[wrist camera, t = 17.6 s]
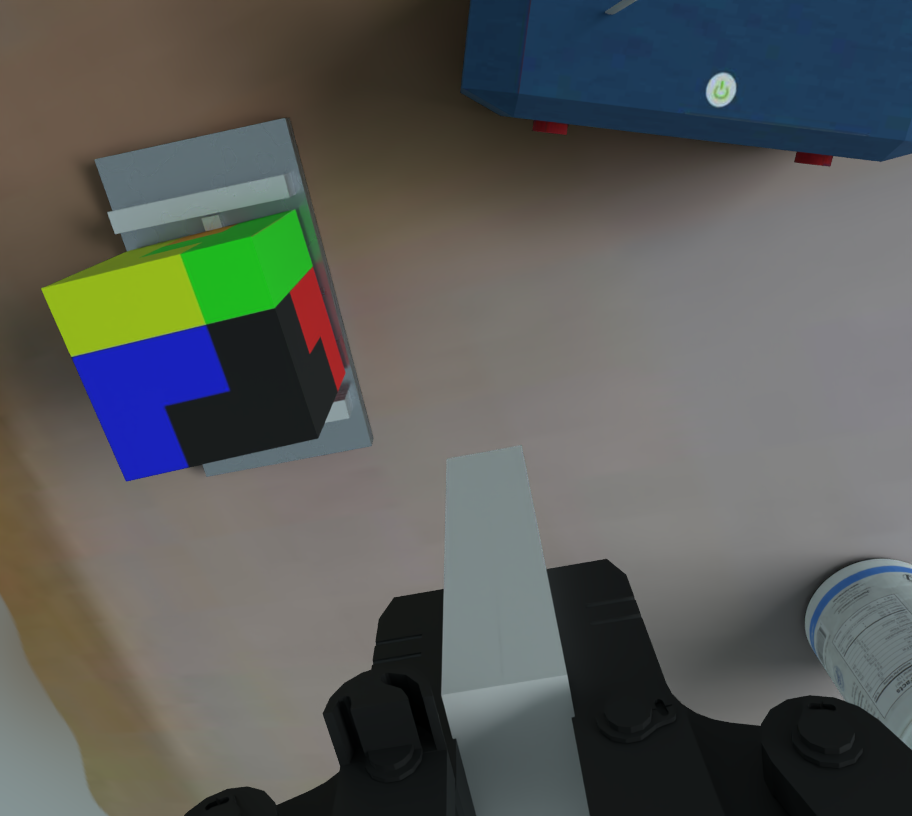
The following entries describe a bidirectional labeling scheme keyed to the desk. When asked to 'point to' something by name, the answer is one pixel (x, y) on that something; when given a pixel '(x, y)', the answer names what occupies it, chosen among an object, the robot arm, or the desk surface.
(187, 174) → the rail plate
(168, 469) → the puzzle toy
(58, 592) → the desk surface
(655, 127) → the radio
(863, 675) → the supplement tub
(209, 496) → the desk surface
